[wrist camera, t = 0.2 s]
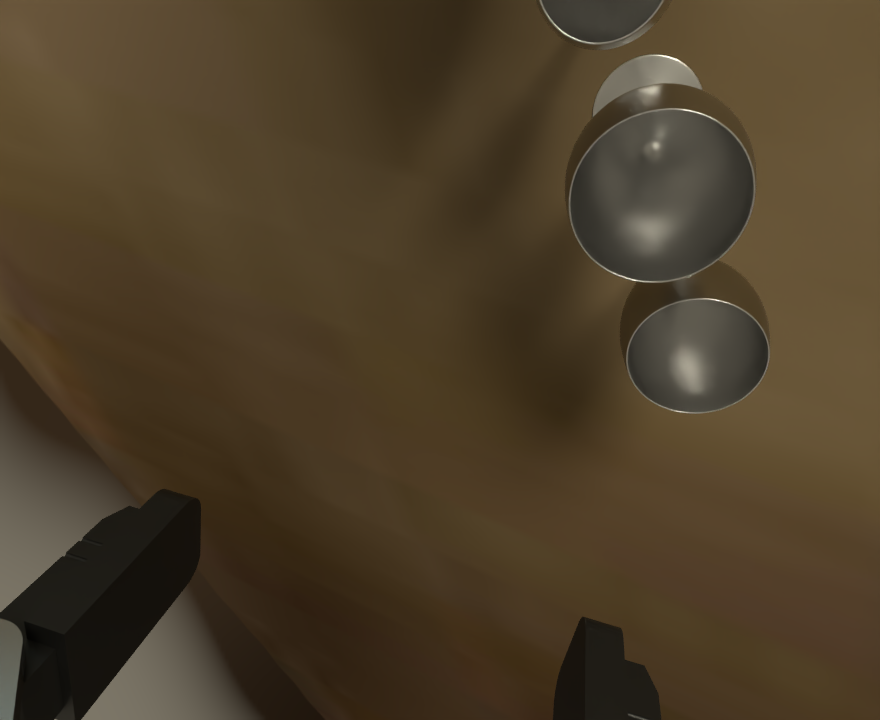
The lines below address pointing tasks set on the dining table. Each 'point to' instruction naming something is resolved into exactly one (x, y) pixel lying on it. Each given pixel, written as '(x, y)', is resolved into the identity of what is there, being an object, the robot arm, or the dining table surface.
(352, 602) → the dining table surface
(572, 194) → the goblet set
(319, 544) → the dining table surface
